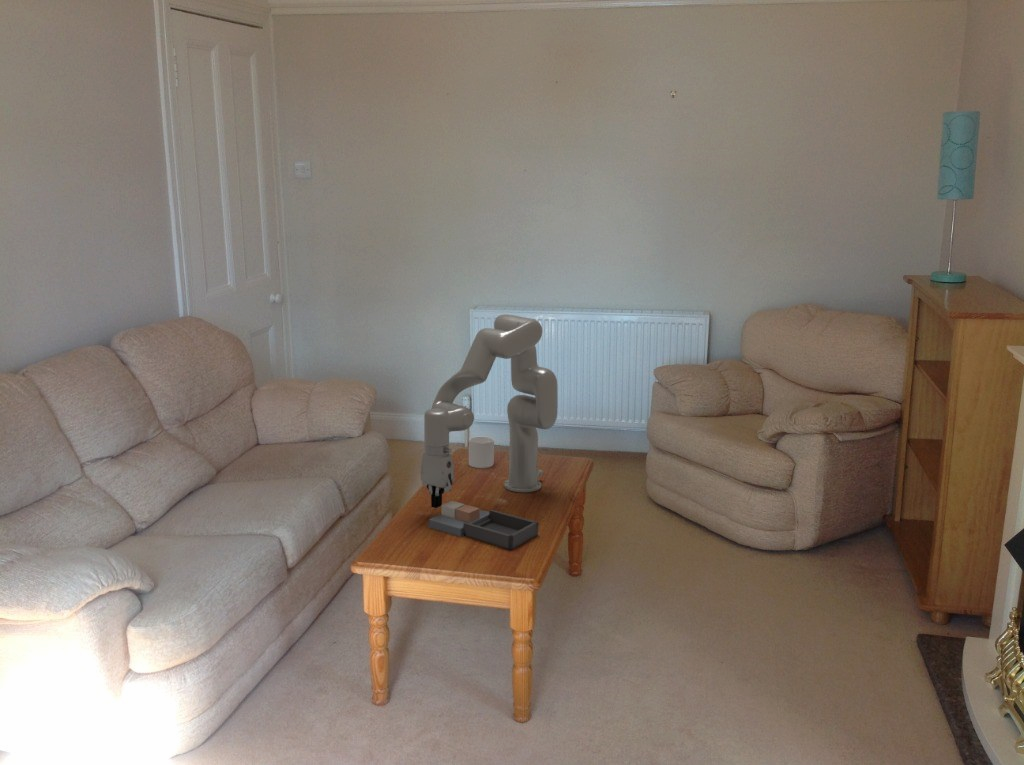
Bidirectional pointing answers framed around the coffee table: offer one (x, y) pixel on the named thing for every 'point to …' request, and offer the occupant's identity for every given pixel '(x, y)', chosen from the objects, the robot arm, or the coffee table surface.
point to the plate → (454, 523)
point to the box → (502, 530)
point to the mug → (481, 452)
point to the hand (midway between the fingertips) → (436, 506)
